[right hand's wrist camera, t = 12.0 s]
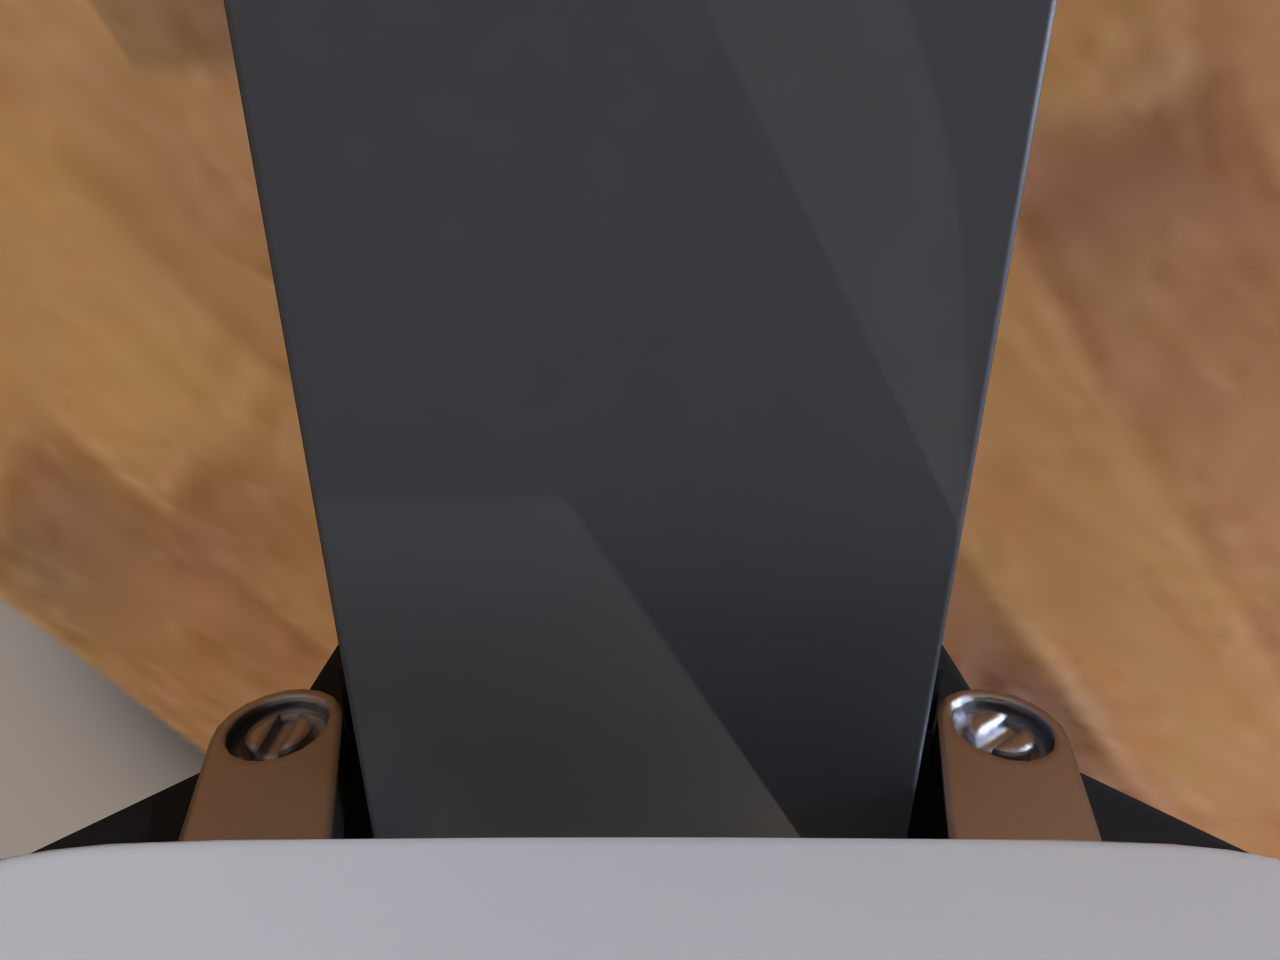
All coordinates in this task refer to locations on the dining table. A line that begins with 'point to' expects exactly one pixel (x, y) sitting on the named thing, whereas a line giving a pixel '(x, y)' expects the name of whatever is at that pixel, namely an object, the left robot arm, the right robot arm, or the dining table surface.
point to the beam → (640, 388)
